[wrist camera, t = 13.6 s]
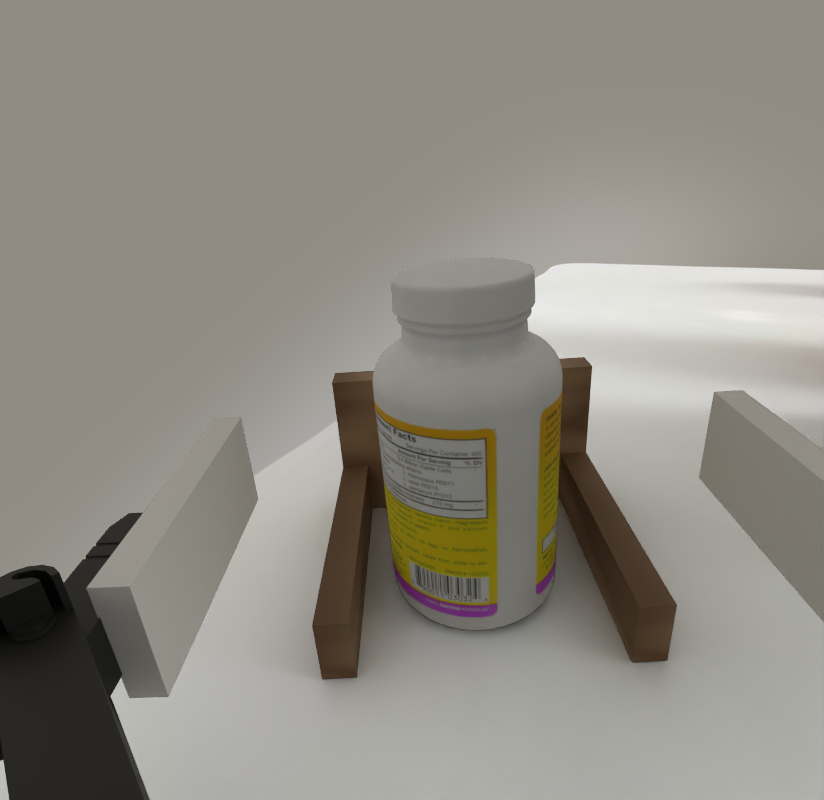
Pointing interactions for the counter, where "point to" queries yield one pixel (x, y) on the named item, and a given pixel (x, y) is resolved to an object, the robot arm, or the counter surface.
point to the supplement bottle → (470, 442)
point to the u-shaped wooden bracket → (577, 489)
